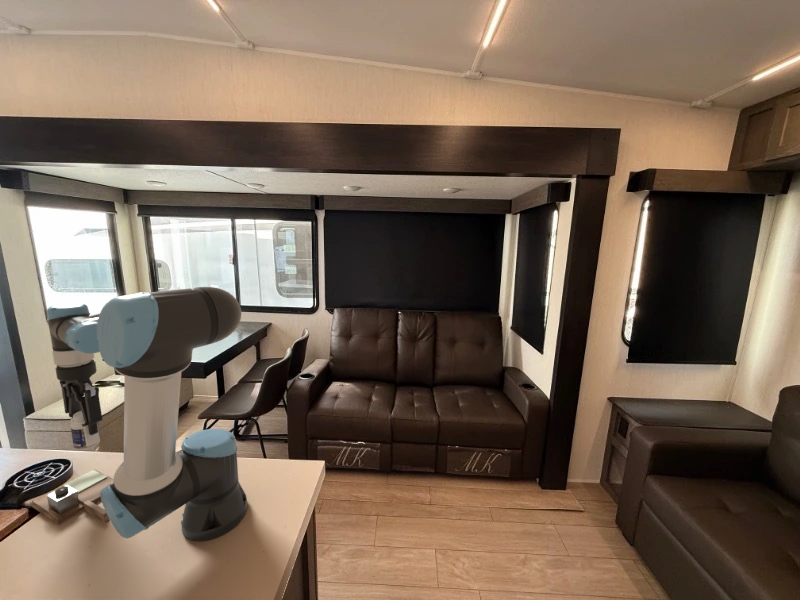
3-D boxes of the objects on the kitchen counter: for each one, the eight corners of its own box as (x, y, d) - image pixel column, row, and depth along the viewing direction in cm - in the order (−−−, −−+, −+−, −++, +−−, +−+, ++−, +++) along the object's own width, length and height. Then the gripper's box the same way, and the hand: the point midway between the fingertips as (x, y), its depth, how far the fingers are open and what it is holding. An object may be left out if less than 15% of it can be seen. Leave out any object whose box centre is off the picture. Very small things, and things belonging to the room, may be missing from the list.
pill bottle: (84, 452, 87) (79, 420, 85) (68, 449, 88) (63, 416, 86) (105, 440, 93) (101, 409, 91) (90, 437, 94) (86, 406, 92)
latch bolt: (79, 503, 87) (76, 487, 86) (59, 515, 83) (56, 498, 82) (69, 497, 89) (66, 481, 88) (49, 508, 85) (46, 491, 84)
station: (143, 497, 91) (142, 490, 91) (79, 538, 78) (78, 530, 78) (95, 472, 100) (94, 465, 99) (30, 506, 87) (29, 498, 87)
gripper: (113, 364, 86) (122, 442, 90) (74, 351, 92) (85, 424, 97) (76, 374, 79) (88, 458, 83) (37, 359, 86) (51, 438, 90)
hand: (87, 440), depth 90 cm, fingers closed on pill bottle, 5 cm apart
